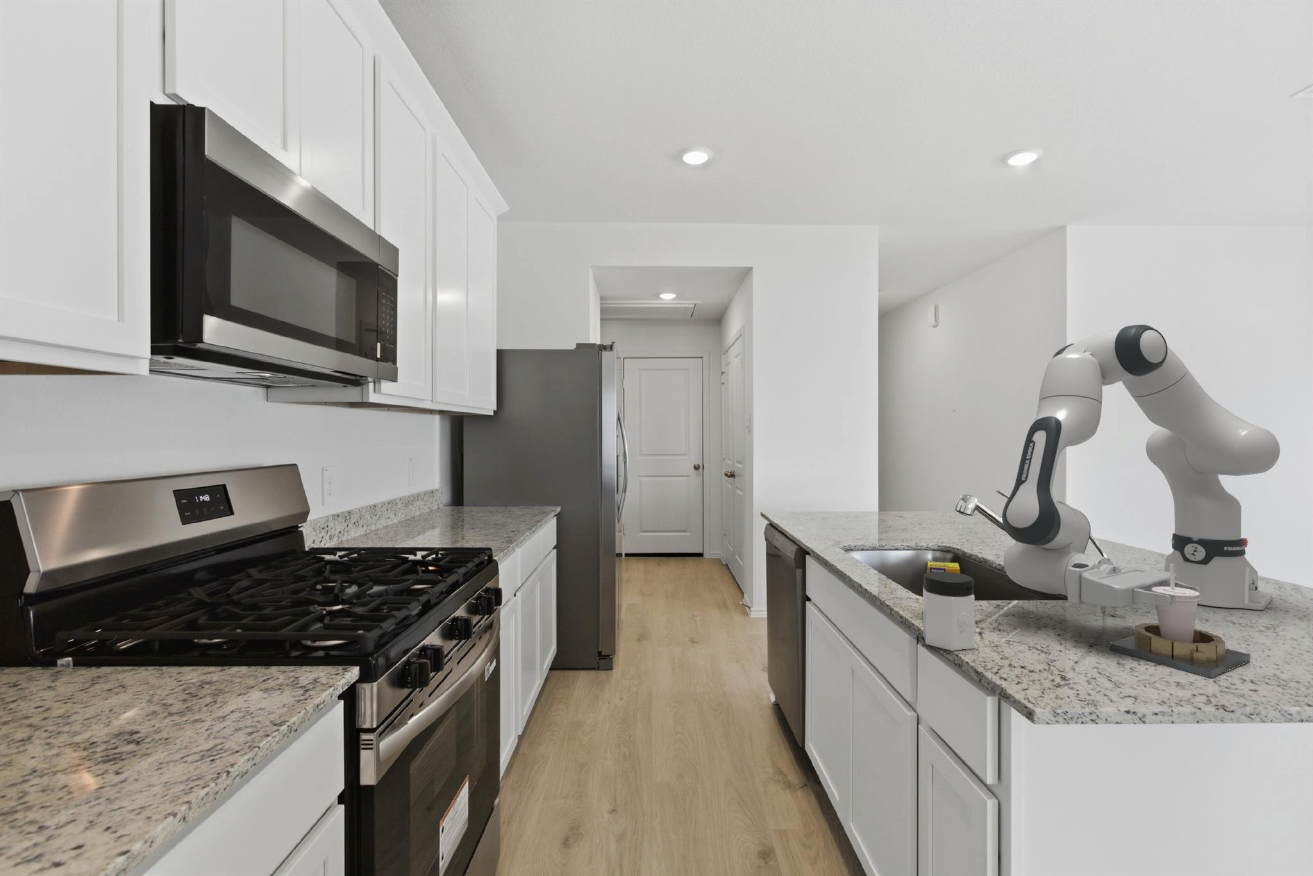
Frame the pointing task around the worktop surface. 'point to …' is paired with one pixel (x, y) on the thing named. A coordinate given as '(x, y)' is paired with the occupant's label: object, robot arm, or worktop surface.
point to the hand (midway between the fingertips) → (1184, 597)
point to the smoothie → (1177, 612)
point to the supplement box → (942, 567)
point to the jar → (948, 610)
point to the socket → (1181, 651)
